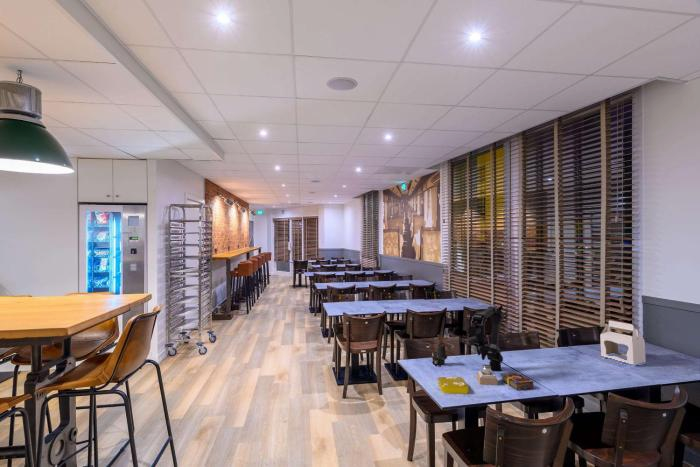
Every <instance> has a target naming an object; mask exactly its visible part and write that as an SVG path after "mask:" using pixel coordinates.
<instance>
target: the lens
mask: <svg viewBox="0 0 700 467" xmlns="http://www.w3.org/2000/svg"><path fill="white" fill-rule="evenodd" d="M481 366H482V371H483V375H491V371H492V370H491V366H490V365H489V364H482V365H481Z"/></svg>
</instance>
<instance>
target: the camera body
mask: <svg viewBox="0 0 700 467" xmlns="http://www.w3.org/2000/svg"><path fill="white" fill-rule="evenodd" d="M476 381H477V382H478V383H479V385H481V386H483V385H485V386H498V377H497V376H496V375H495V374H494V372H493V371H492V370H491V375H483V370H479V371H478V372H476Z"/></svg>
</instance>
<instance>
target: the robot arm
mask: <svg viewBox="0 0 700 467" xmlns="http://www.w3.org/2000/svg"><path fill="white" fill-rule="evenodd" d="M489 317H490V320H491V322H492V326H491V327H492V329H491V338H490V340H491V341H490V345H488V344H487V341H486V338H487V335H486V331H485V330H486V328H485V326H486V322H488V318H489ZM504 318H505V314H504V312H503V311H502V310H501V309H499V308H497V306H491V305H490V306H488V307H487V308H485V309H484V310H482V311H481V312H479V311H478V312H475V313H474V314H473V315H472V318H471V321H470V326H469V327H468V329H467V332H468V335H469V336H471V337H468V338H466V342H467V344H468V345H469V346H474V347H475V348H476V349H475V350H476V352H477V356H481V360H482V361H484V360H485V359H486V357H487V360H489V362H488V365H490V366H491V371H492V372H503V371H502V366H501V365H502V364H501V363H503V361H504V357H503V356H502V353H501V349H500V347H499V342H500V333H501V331H500V330H501V324H502V323H503V322H504Z"/></svg>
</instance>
